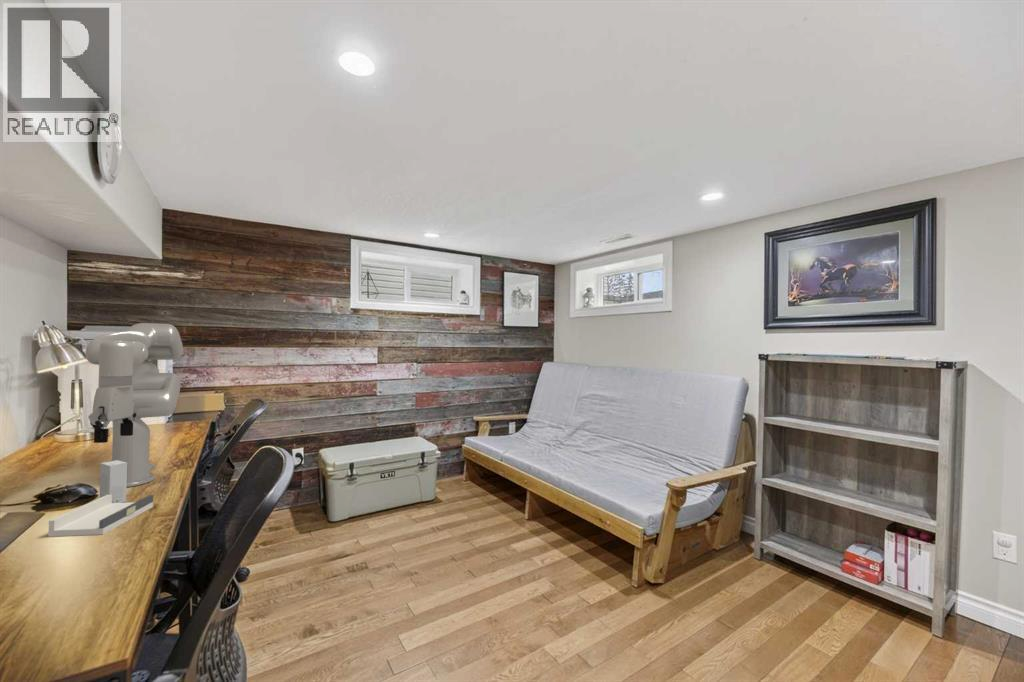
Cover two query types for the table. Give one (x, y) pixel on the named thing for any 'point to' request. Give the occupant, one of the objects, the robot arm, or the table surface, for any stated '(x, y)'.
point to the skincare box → (114, 480)
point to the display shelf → (90, 518)
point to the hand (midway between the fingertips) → (114, 438)
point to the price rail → (125, 511)
